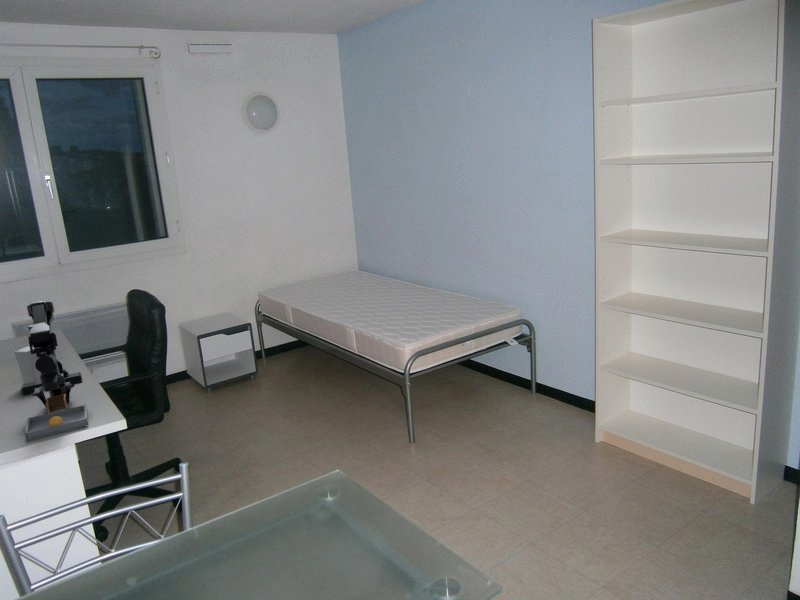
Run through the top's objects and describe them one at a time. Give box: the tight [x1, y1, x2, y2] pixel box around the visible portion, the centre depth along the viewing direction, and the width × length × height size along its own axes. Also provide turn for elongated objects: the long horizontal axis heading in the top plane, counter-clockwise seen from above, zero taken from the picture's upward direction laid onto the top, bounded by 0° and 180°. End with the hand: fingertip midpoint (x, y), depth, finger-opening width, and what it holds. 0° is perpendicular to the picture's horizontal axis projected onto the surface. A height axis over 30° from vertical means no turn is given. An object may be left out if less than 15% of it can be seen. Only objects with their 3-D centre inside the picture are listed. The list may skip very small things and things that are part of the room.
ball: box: [49, 416, 63, 427], centre depth 203 cm, size 4×4×4 cm
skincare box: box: [13, 345, 41, 384], centre depth 251 cm, size 8×7×16 cm
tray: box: [24, 404, 89, 441], centre depth 208 cm, size 15×18×2 cm
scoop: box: [46, 394, 69, 414], centre depth 218 cm, size 7×6×4 cm
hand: (57, 406), depth 219 cm, fingers closed on scoop, 6 cm apart
